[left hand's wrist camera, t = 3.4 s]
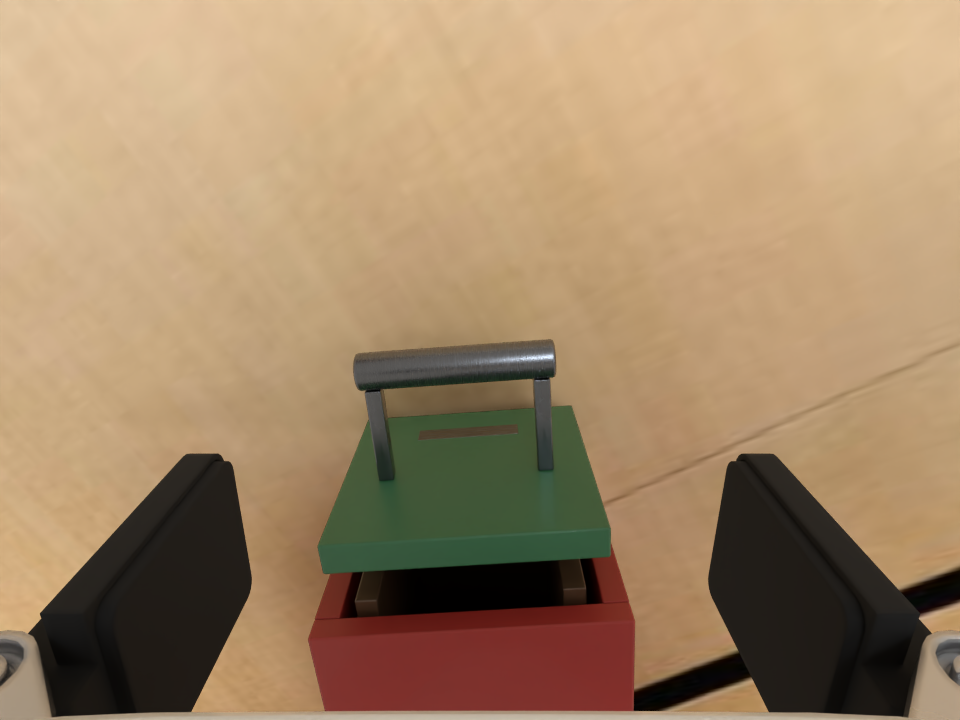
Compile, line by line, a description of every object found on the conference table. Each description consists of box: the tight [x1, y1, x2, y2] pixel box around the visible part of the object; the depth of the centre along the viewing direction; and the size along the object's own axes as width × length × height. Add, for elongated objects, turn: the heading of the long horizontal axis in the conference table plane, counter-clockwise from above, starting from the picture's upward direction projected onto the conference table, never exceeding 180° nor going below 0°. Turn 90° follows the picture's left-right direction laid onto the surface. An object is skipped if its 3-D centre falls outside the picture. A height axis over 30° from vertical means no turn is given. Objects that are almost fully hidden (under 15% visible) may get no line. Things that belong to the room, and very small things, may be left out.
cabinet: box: [308, 544, 635, 711], centre depth 28 cm, size 19×11×11 cm, turn 5°
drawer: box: [318, 339, 611, 617], centre depth 26 cm, size 23×10×9 cm, turn 5°
